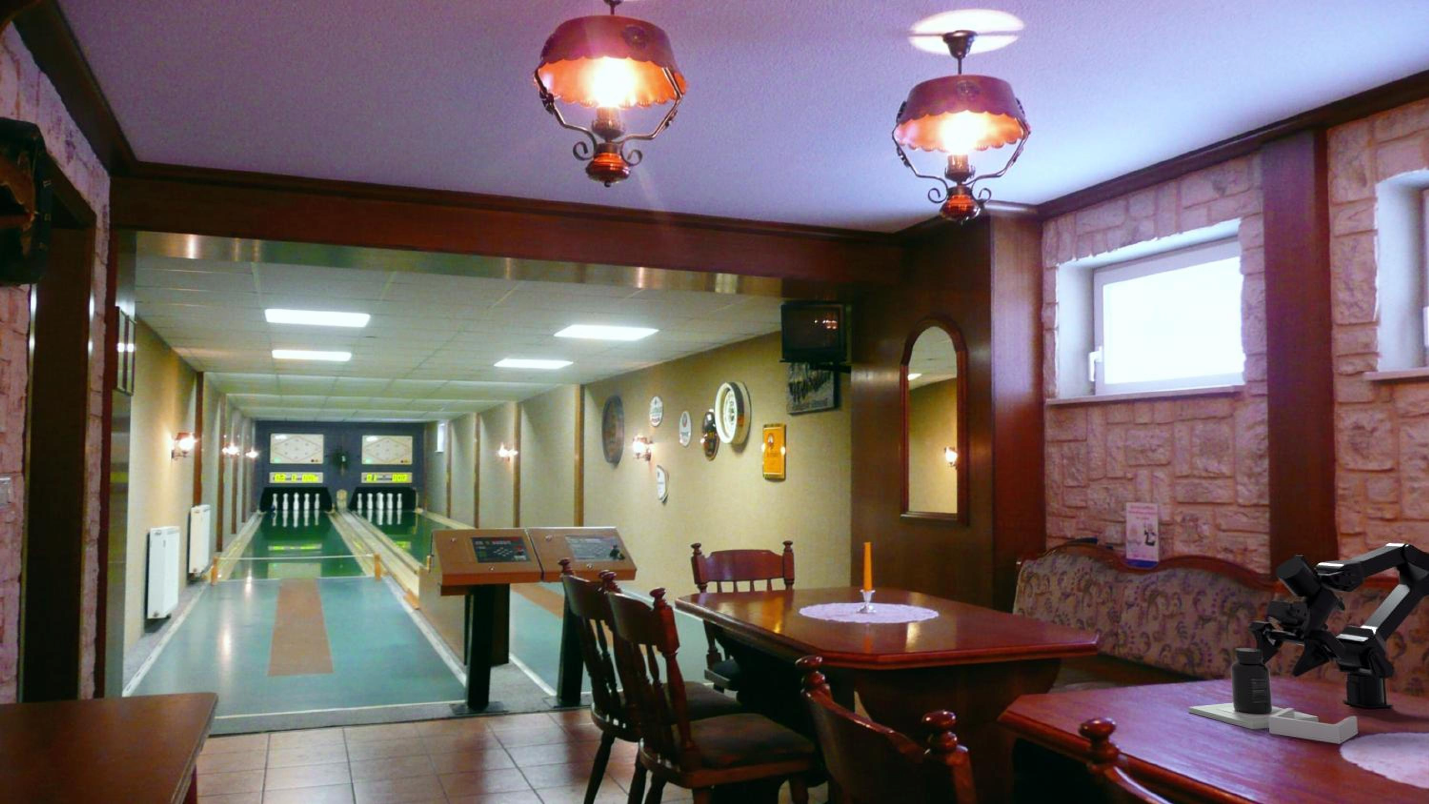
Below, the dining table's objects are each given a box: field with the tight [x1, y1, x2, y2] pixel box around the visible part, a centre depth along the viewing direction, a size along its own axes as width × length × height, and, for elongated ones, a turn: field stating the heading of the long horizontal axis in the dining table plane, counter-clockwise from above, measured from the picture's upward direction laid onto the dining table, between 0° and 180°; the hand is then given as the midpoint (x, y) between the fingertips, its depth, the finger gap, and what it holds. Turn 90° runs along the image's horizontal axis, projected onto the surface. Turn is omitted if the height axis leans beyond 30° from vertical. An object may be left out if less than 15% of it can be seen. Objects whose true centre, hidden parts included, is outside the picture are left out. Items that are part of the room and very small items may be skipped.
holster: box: [1268, 707, 1359, 745], centre depth 187 cm, size 10×12×3 cm
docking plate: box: [1188, 702, 1319, 730], centre depth 201 cm, size 16×16×1 cm
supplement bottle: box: [1230, 647, 1273, 714], centre depth 202 cm, size 7×7×12 cm
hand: (1274, 671), depth 204 cm, fingers open, 9 cm apart
